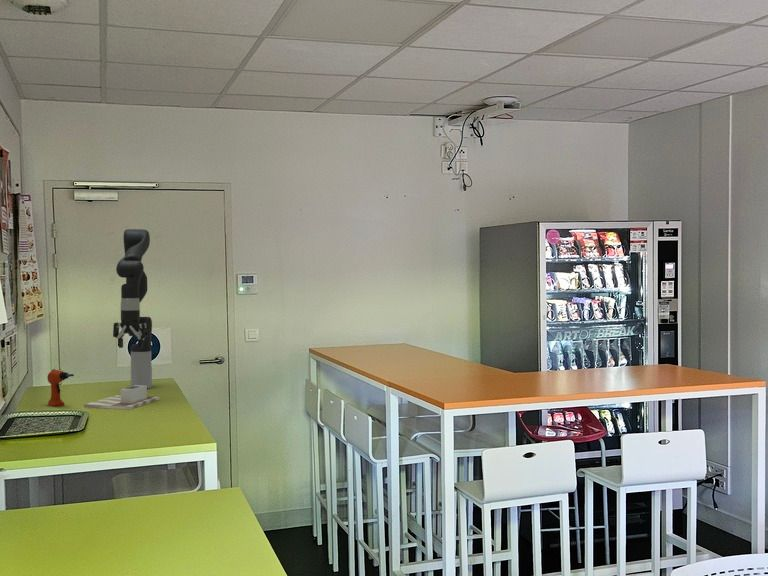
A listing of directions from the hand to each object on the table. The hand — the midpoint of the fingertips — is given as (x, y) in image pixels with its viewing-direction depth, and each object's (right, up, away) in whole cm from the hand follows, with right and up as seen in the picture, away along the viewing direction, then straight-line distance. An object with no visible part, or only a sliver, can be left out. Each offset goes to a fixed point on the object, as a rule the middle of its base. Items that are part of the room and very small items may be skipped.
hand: (130, 348), depth 320 cm
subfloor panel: (-3, -23, -1) cm, 23 cm away
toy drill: (-25, -23, -9) cm, 35 cm away
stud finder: (+2, -21, -2) cm, 22 cm away
